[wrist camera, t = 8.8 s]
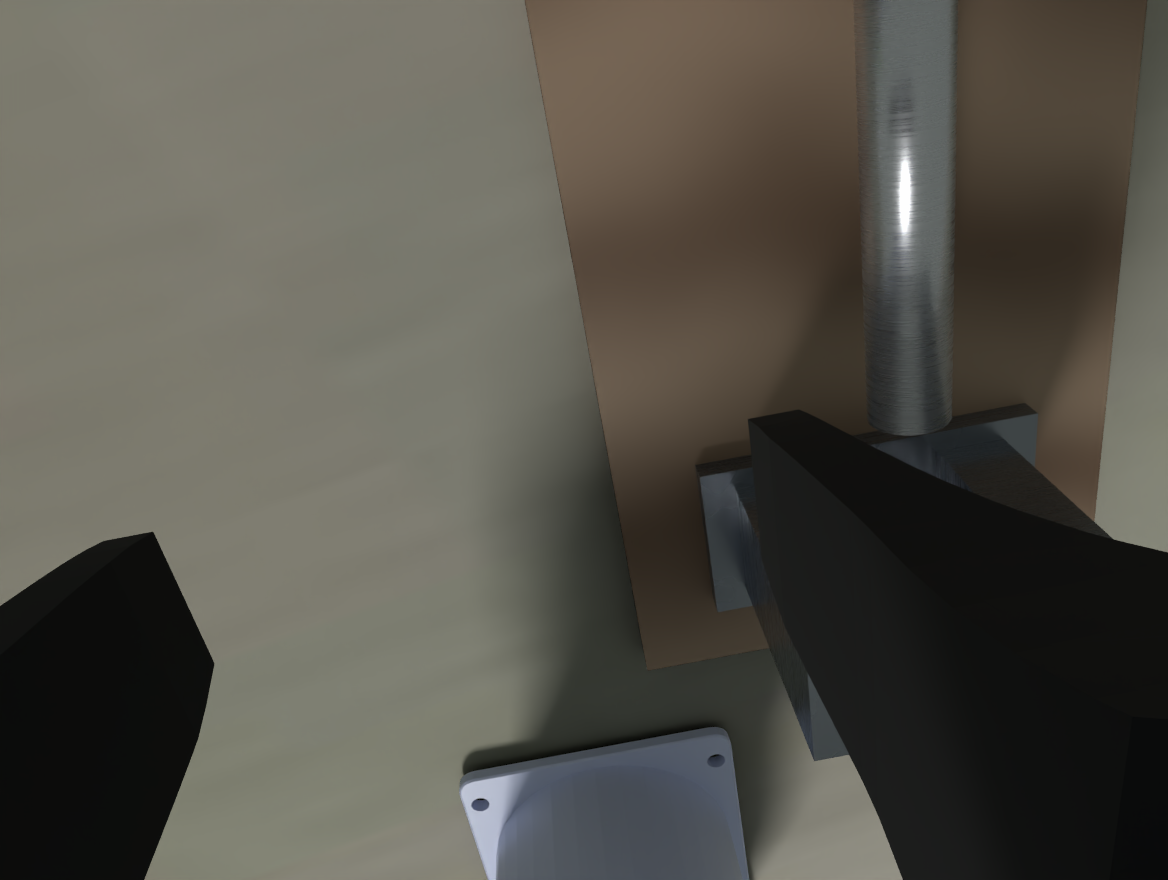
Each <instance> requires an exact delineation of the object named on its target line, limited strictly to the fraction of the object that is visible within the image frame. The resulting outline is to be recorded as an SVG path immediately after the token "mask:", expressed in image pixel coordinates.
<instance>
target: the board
mask: <svg viewBox="0 0 1168 880" xmlns="http://www.w3.org/2000/svg"><path fill="white" fill-rule="evenodd" d="M525 5H526V10H527V16H528V21H529V26H530V32H531V37H532V43H533V48H534V54H535V59H536V65H537V70H538V76H539V81H540V87H541V92H542V98H543V103H544V109H545V114H546V120H547V125H548V131H549V136H550V141H551V147H552V152H553V158H554V163H555V169H556V174H557V180H558V185H559V191H560V196H561V202H562V207H563V213H564V218H565V224H566V229H567V235H568V240H569V246H570V251H571V257H572V262H573V267H574V273H575V278H576V284H577V289H578V295H579V300H580V306H581V311H582V317H583V322H584V328H585V333H586V339H587V344H588V350H589V355H590V361H591V366H592V372H593V377H594V383H595V388H596V393H597V399H598V404H599V410H600V415H601V421H602V426H603V432H604V437H605V443H606V448H607V454H608V459H609V465H610V470H611V476H612V481H613V487H614V492H615V498H616V503H617V509H618V514H619V519H620V525H621V530H622V536H623V541H624V547H625V552H626V558H627V563H628V569H629V574H630V580H631V585H632V591H633V596H634V602H635V607H636V613H637V618H638V624H639V629H640V635H641V640H642V645H643V651H644V656H645V661H646V666H647V670H648V671H649V670H655V669H660V668H665V667H671V666H676V665H681V664H687V663H692V662H697V661H703V660H708V659H713V658H719V657H724V656H729V655H735V654H740V653H745V652H751V651H756V650H761V649H767V648H769V645H768V643H767V640H766V638H765V635H764V633H763V630H762V628H761V625H760V623H759V620H758V618H757V615H756V613H755V610H754V608H753V606H749V607H743V608H738V609H733V610H727V611H722V612H717V609H716V606H715V603H714V600H713V596H712V589H711V581H710V574H709V566H708V559H707V551H706V544H705V536H704V529H703V521H702V514H701V506H700V498H699V491H698V483H697V476H696V468H695V465H698V464H704V463H709V462H714V461H720V460H725V459H730V458H735V457H741V456H746V455H751V446H750V436H749V426H748V419H751V418H756V417H761V416H766V415H772V414H777V413H782V412H787V411H793V410H798V409H799V410H801V411H804V412H806V413H808V414H811V415H813V416H815V417H817V418H819V419H821V420H823V421H825V422H827V423H829V424H830V425H832V426H834V427H836V428H838V429H840V430H842V431H844V432H846V433H848V434H850V435H857V434H862V433H868V432H873V431H878V430H877V429H875V428H873V427H872V426H871V425H870V424H869V423H868V421H867V406H866V375H865V344H864V313H863V283H862V252H861V221H860V190H859V159H858V128H857V97H856V67H855V36H854V5H853V0H525ZM1146 8H1147V0H958V52H957V116H956V180H955V245H954V309H953V373H952V416H958V415H963V414H968V413H973V412H979V411H984V410H989V409H995V408H1000V407H1005V406H1010V405H1016V404H1021V403H1026V404H1027V405H1028V406H1030V407H1031V408H1032V409H1033V410H1035V411H1036V412H1037V413H1038V424H1037V439H1036V455H1035V468H1036V469H1037V470H1038V471H1039V472H1040V473H1041V474H1043V475H1044V476H1045V477H1046V478H1047V479H1048V480H1049V481H1050V482H1051V483H1052V484H1053V485H1055V486H1056V487H1057V488H1058V489H1059V490H1060V491H1061V492H1062V493H1063V494H1064V495H1065V496H1067V497H1068V498H1069V499H1070V500H1071V501H1072V502H1073V503H1074V504H1075V505H1076V506H1077V507H1079V508H1080V509H1081V510H1082V511H1083V512H1084V513H1085V514H1086V515H1087V516H1088V517H1089V518H1091V519H1092V520H1093V521H1094V518H1095V509H1096V499H1097V489H1098V479H1099V469H1100V460H1101V450H1102V440H1103V430H1104V420H1105V411H1106V401H1107V391H1108V381H1109V371H1110V361H1111V352H1112V342H1113V332H1114V322H1115V312H1116V303H1117V293H1118V283H1119V273H1120V263H1121V253H1122V244H1123V234H1124V224H1125V214H1126V204H1127V195H1128V185H1129V175H1130V165H1131V155H1132V146H1133V136H1134V126H1135V116H1136V106H1137V96H1138V87H1139V77H1140V67H1141V57H1142V47H1143V38H1144V28H1145V18H1146Z"/></svg>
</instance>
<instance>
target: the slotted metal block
mask: <svg viewBox="0 0 1168 880" xmlns="http://www.w3.org/2000/svg"><path fill="white" fill-rule="evenodd" d="M1037 424H1038V413H1037V412H1036V411H1035V410H1033V409H1032V408H1031V407H1030V406H1028V405H1027V404H1026V403H1021V404H1016V405H1010V406H1005V407H1000V408H995V409H989V410H984V411H979V412H973V413H968V414H963V415H958V416H952V419H951V421H950V422H949V424H948V425H947V426H945V427H944V428H942V429H940V430H938V431H935V432H932V433H928V434H923V435H914V436H902V435H893V434H888V433H885V432H881V431H879V430H878V431H873V432H868V433H862V434H857V435H852V436H853V437H855V438H857V439H859V440H861V441H863V442H865V443H867V444H869V445H871V446H873V447H875V448H877V449H879V450H881V451H883V452H885V453H887V454H889V455H891V456H893V457H895V458H897V459H899V460H901V461H903V462H905V463H907V464H909V465H911V466H913V467H915V468H917V469H920V470H922V471H924V472H926V473H928V474H931V475H933V476H935V477H937V478H939V479H942V480H944V481H946V482H949V483H951V484H953V485H956V486H958V487H961V488H963V489H966V490H968V491H970V492H973V493H975V494H978V495H980V496H982V497H985V498H987V499H990V500H992V501H995V502H997V503H1000V504H1003V505H1006V506H1008V507H1011V508H1014V509H1017V510H1019V511H1022V512H1025V513H1028V514H1032V515H1035V516H1038V517H1041V518H1044V519H1047V520H1050V521H1053V522H1056V523H1059V524H1063V525H1066V526H1069V527H1072V528H1075V529H1078V530H1081V531H1085V532H1088V533H1092V534H1096V535H1099V536H1103V537H1106V538H1110V539H1112V538H1111V537H1110V536H1109V535H1108V534H1107V533H1106V532H1105V531H1104V530H1103V529H1101V528H1100V527H1099V526H1098V525H1097V524H1096V523H1095V522H1094V521H1093V520H1092V519H1091V518H1089V517H1088V516H1087V515H1086V514H1085V513H1084V512H1083V511H1082V510H1081V509H1080V508H1079V507H1077V506H1076V505H1075V504H1074V503H1073V502H1072V501H1071V500H1070V499H1069V498H1068V497H1067V496H1065V495H1064V494H1063V493H1062V492H1061V491H1060V490H1059V489H1058V488H1057V487H1056V486H1055V485H1053V484H1052V483H1051V482H1050V481H1049V480H1048V479H1047V478H1046V477H1045V476H1044V475H1043V474H1041V473H1040V472H1039V471H1038V470H1037V469H1036V468H1035V455H1036V439H1037ZM695 468H696V476H697V483H698V491H699V498H700V506H701V514H702V521H703V529H704V536H705V544H706V551H707V559H708V566H709V574H710V581H711V589H712V596H713V600H714V603H715V606H716V609H717V612H722V611H727V610H733V609H738V608H743V607H749V606H753V608H754V610H755V613H756V615H757V618H758V620H759V623H760V625H761V628H762V630H763V633H764V635H765V638H766V640H767V643H768V645H769V648H770V650H771V653H772V655H773V658H774V661H775V663H776V666H777V668H778V671H779V673H780V676H781V678H782V681H783V683H784V686H785V688H786V691H787V693H788V696H789V698H790V701H791V703H792V706H793V709H794V711H795V714H796V716H797V719H798V721H799V724H800V726H801V729H802V731H803V734H804V736H805V739H806V741H807V744H808V746H809V749H810V751H811V754H812V756H813V759H814V761H817V760H822V759H828V758H833V757H839V756H844V755H849V753H848V751H847V749H846V747H845V745H844V743H843V741H842V740H841V738H840V736H839V734H838V732H837V730H836V728H835V726H834V724H833V722H832V720H831V718H830V716H829V714H828V712H827V710H826V708H825V706H824V704H823V702H822V700H821V698H820V696H819V694H818V692H817V690H816V688H815V687H814V685H813V683H812V681H811V679H810V677H809V675H808V673H807V671H806V669H805V667H804V665H803V663H802V661H801V659H800V657H799V655H798V653H797V651H796V649H795V647H794V645H793V643H792V641H791V639H790V637H789V635H788V633H787V630H786V628H785V626H784V623H783V620H782V617H781V615H780V612H779V609H778V606H777V603H776V601H775V598H774V595H773V592H772V589H771V586H770V583H769V580H768V577H767V574H766V571H765V568H764V565H763V562H762V557H761V547H760V537H759V527H758V517H757V507H756V497H755V487H754V477H753V467H752V457H751V455H746V456H741V457H735V458H730V459H725V460H720V461H714V462H709V463H704V464H698V465H695Z"/></svg>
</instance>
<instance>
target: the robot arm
mask: <svg viewBox="0 0 1168 880" xmlns="http://www.w3.org/2000/svg"><path fill="white" fill-rule="evenodd" d="M748 426H749V436H750V446H751V457H752V467H753V477H754V487H755V497H756V507H757V517H758V527H759V537H760V547H761V557H762V562H763V565H764V568H765V571H766V574H767V577H768V580H769V583H770V586H771V589H772V592H773V595H774V598H775V601H776V603H777V606H778V609H779V612H780V615H781V617H782V620H783V623H784V626H785V628H786V630H787V633H788V635H789V637H790V639H791V641H792V643H793V645H794V647H795V649H796V651H797V653H798V655H799V657H800V659H801V661H802V663H803V665H804V667H805V669H806V671H807V673H808V675H809V677H810V679H811V681H812V683H813V685H814V687H815V688H816V690H817V692H818V694H819V696H820V698H821V700H822V702H823V704H824V706H825V708H826V710H827V712H828V714H829V716H830V718H831V720H832V722H833V724H834V726H835V728H836V730H837V732H838V734H839V736H840V738H841V740H842V741H843V743H844V745H845V747H846V749H847V751H848V753H849V755H850V757H851V759H852V761H853V763H854V765H855V767H856V769H857V771H858V773H859V775H860V777H861V779H862V781H863V783H864V785H865V787H866V790H867V792H868V794H869V796H870V798H871V801H872V803H873V805H874V807H875V809H876V812H877V814H878V816H879V819H880V821H881V824H882V826H883V829H884V831H885V834H886V837H887V839H888V842H889V844H890V847H891V850H892V852H893V855H894V857H895V860H896V863H897V865H898V868H899V870H900V873H901V876H902V878H903V880H1168V553H1167V552H1163V551H1159V550H1155V549H1151V548H1146V547H1142V546H1138V545H1134V544H1130V543H1125V542H1121V541H1117V540H1114V539H1110V538H1106V537H1103V536H1099V535H1096V534H1092V533H1088V532H1085V531H1081V530H1078V529H1075V528H1072V527H1069V526H1066V525H1063V524H1059V523H1056V522H1053V521H1050V520H1047V519H1044V518H1041V517H1038V516H1035V515H1032V514H1028V513H1025V512H1022V511H1019V510H1017V509H1014V508H1011V507H1008V506H1006V505H1003V504H1000V503H997V502H995V501H992V500H990V499H987V498H985V497H982V496H980V495H978V494H975V493H973V492H970V491H968V490H966V489H963V488H961V487H958V486H956V485H953V484H951V483H949V482H946V481H944V480H942V479H939V478H937V477H935V476H933V475H931V474H928V473H926V472H924V471H922V470H920V469H917V468H915V467H913V466H911V465H909V464H907V463H905V462H903V461H901V460H899V459H897V458H895V457H893V456H891V455H889V454H887V453H885V452H883V451H881V450H879V449H877V448H875V447H873V446H871V445H869V444H867V443H865V442H863V441H861V440H859V439H857V438H855V437H853V436H852V435H850V434H848V433H846V432H844V431H842V430H840V429H838V428H836V427H834V426H832V425H830V424H829V423H827V422H825V421H823V420H821V419H819V418H817V417H815V416H813V415H811V414H808V413H806V412H804V411H801V410H799V409H798V410H793V411H787V412H782V413H777V414H772V415H766V416H761V417H756V418H751V419H748ZM213 668H214V662H213V659H212V657H211V655H210V653H209V651H208V649H207V646H206V644H205V642H204V640H203V638H202V636H201V634H200V631H199V629H198V627H197V625H196V623H195V621H194V619H193V616H192V614H191V612H190V610H189V608H188V606H187V603H186V601H185V599H184V597H183V595H182V593H181V591H180V588H179V586H178V584H177V582H176V580H175V578H174V576H173V573H172V571H171V569H170V567H169V565H168V563H167V561H166V558H165V556H164V554H163V552H162V550H161V548H160V545H159V543H158V541H157V539H156V537H155V535H154V533H153V532H149V533H144V534H139V535H133V536H128V537H123V538H117V539H112V540H107V541H103V542H101V543H99V544H97V545H95V546H93V547H91V548H89V549H87V550H85V551H83V552H82V553H80V554H78V555H77V556H75V557H73V558H72V559H70V560H68V561H67V562H65V563H64V564H62V565H60V566H59V567H57V568H56V569H54V570H53V571H51V572H50V573H48V574H47V575H45V576H44V577H42V578H41V579H39V580H38V581H36V582H35V583H33V584H32V585H30V586H29V587H27V588H26V589H24V590H23V591H21V592H20V593H19V594H17V595H16V596H14V597H13V598H11V599H10V600H8V601H7V602H6V603H4V604H3V605H1V606H0V880H144V879H145V876H146V874H147V871H148V868H149V866H150V863H151V861H152V858H153V856H154V853H155V851H156V848H157V845H158V843H159V840H160V838H161V835H162V833H163V830H164V827H165V825H166V822H167V820H168V817H169V815H170V812H171V810H172V807H173V804H174V802H175V799H176V797H177V794H178V791H179V789H180V786H181V783H182V781H183V778H184V775H185V773H186V770H187V767H188V765H189V762H190V759H191V757H192V754H193V751H194V748H195V746H196V743H197V740H198V737H199V733H200V729H201V724H202V720H203V716H204V712H205V708H206V704H207V698H208V693H209V688H210V683H211V678H212V673H213ZM715 754H720V755H719V756H716V757H710V756H712V755H715ZM459 791H460V797H461V800H462V803H463V806H464V809H465V812H466V815H467V818H468V821H469V824H470V827H471V830H472V833H473V836H474V839H475V842H476V845H477V848H478V851H479V854H480V857H481V860H482V863H483V866H484V869H485V872H486V875H487V878H488V880H749V874H748V867H747V859H746V852H745V844H744V837H743V829H742V822H741V814H740V807H739V799H738V792H737V785H736V777H735V770H734V762H733V755H732V747H731V742H730V739H729V736H728V733H727V732H726V731H725V730H724V729H723V728H719V727H708V728H702V729H697V730H692V731H686V732H681V733H676V734H670V735H665V736H659V737H654V738H649V739H643V740H638V741H633V742H627V743H622V744H617V745H611V746H606V747H600V748H595V749H590V750H584V751H579V752H574V753H568V754H563V755H557V756H552V757H547V758H541V759H536V760H531V761H525V762H520V763H515V764H509V765H504V766H498V767H493V768H488V769H482V770H477V771H472V772H469V773H467V774H465V775H464V776H463V777H462V779H461V781H460V789H459ZM478 798H483V799H485V800H476V799H478Z"/></svg>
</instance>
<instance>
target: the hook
mask: <svg viewBox="0 0 1168 880" xmlns="http://www.w3.org/2000/svg"><path fill="white" fill-rule="evenodd" d="M853 5H854V36H855V67H856V97H857V128H858V159H859V190H860V221H861V252H862V283H863V313H864V344H865V375H866V406H867V421H868V423H869V424H870V425H871V426H872V427H873V428H875V429H877V430H879V431H881V432H885V433H888V434H893V435H902V436H914V435H923V434H928V433H932V432H935V431H938V430H940V429H942V428H944V427H945V426H947V425H948V424H949V422H950V421H951V419H952V373H953V309H954V245H955V180H956V116H957V52H958V0H853Z"/></svg>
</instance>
